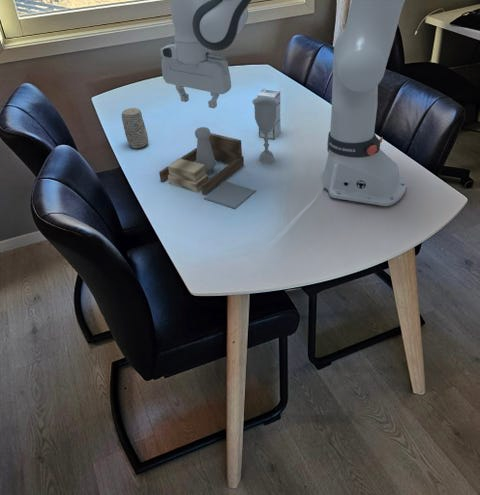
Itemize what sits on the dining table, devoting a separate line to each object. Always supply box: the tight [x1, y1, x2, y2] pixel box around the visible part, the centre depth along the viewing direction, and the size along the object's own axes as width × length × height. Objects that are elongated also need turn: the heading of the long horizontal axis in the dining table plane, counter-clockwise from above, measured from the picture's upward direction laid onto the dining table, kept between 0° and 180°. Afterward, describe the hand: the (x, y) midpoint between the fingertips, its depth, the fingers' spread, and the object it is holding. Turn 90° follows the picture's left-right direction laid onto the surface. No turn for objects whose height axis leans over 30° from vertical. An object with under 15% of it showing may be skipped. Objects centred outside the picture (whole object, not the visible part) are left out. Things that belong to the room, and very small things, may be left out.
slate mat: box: [203, 181, 257, 210], centre depth 130 cm, size 10×10×1 cm
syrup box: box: [256, 88, 282, 140], centre depth 154 cm, size 6×6×14 cm
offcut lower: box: [167, 174, 210, 193], centre depth 135 cm, size 10×6×3 cm, turn 57°
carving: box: [121, 107, 149, 149], centre depth 154 cm, size 6×8×12 cm
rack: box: [158, 132, 245, 196], centre depth 138 cm, size 16×19×8 cm
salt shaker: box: [194, 126, 217, 175], centre depth 137 cm, size 6×6×13 cm
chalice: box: [251, 97, 278, 165], centre depth 139 cm, size 7×7×18 cm
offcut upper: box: [167, 157, 206, 182], centre depth 134 cm, size 9×5×3 cm, turn 59°
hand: (198, 104), depth 129 cm, fingers open, 8 cm apart
